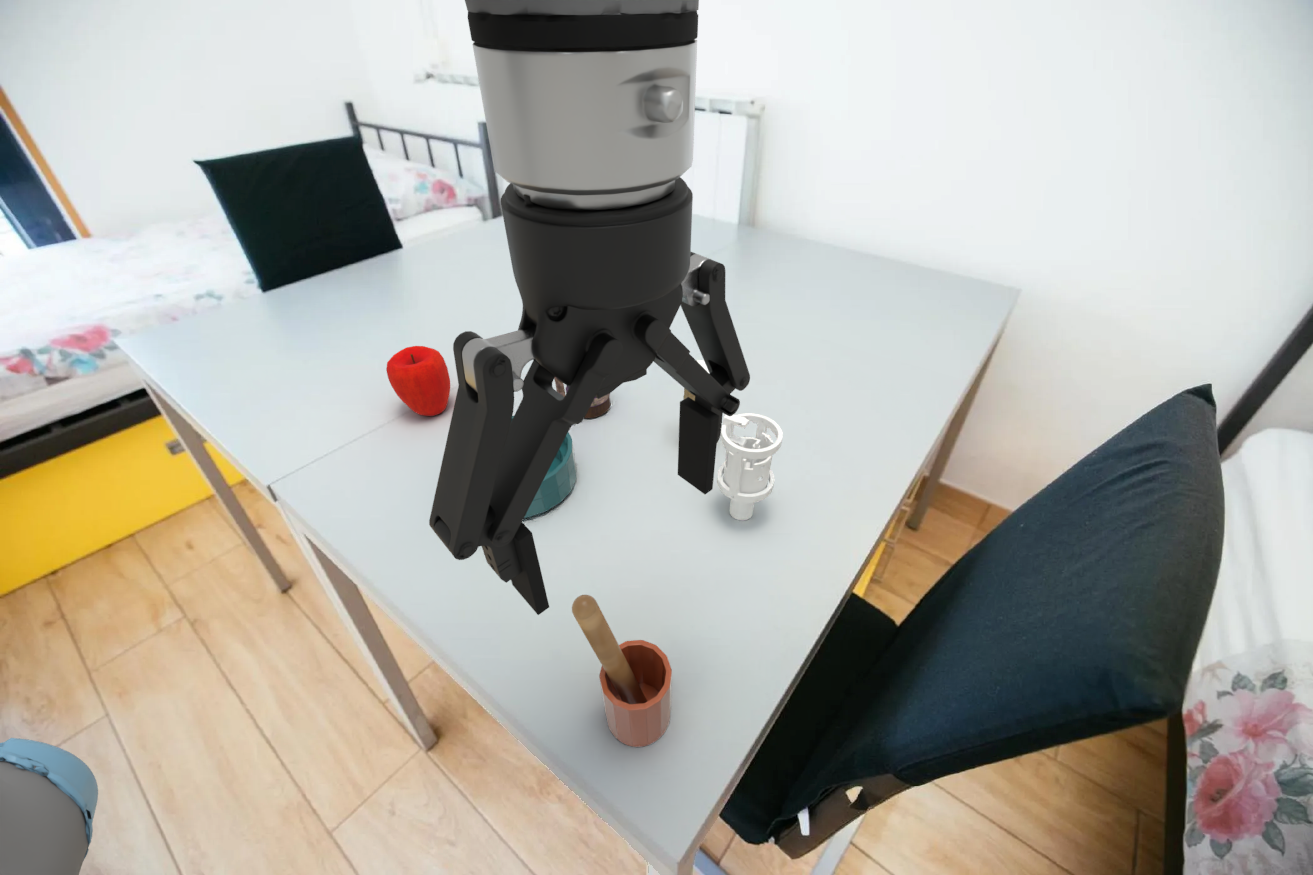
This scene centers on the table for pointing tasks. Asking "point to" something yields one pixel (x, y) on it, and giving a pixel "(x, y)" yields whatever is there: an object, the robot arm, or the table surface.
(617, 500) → the table surface
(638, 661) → the utensil pot
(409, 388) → the apple
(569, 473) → the bowl
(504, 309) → the table surface
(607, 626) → the stick
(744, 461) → the white cylindrical cage
